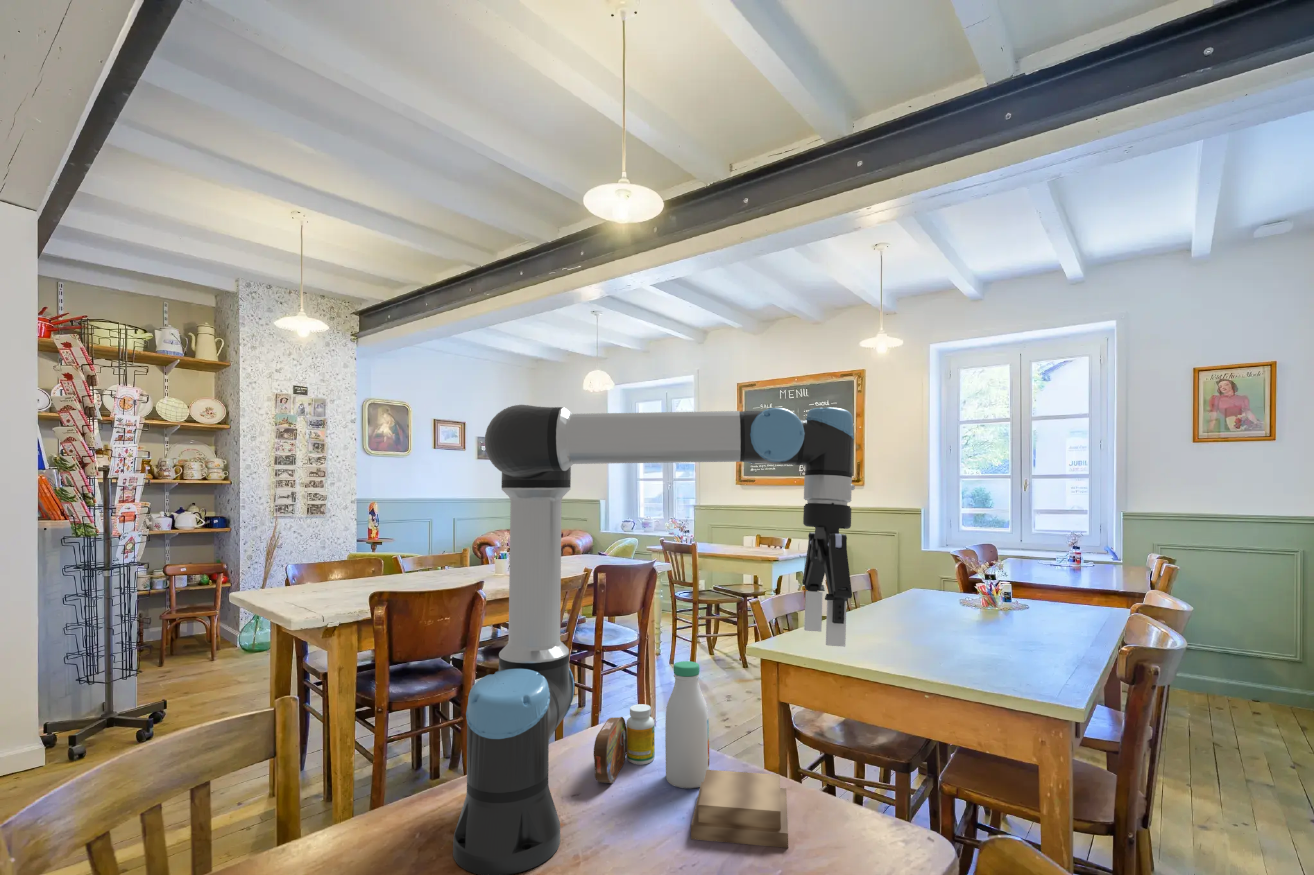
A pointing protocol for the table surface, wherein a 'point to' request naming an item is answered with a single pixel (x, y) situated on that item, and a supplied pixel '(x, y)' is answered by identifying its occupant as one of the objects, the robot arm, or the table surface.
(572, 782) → the table surface
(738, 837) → the plinth
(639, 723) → the supplement bottle
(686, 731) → the milk bottle
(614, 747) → the tin
